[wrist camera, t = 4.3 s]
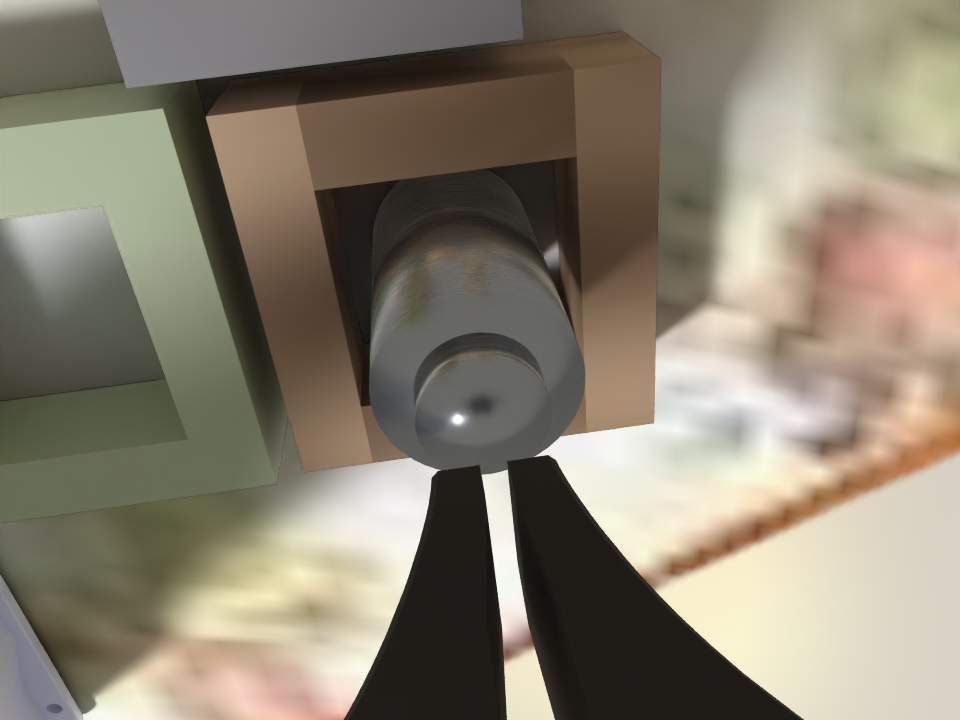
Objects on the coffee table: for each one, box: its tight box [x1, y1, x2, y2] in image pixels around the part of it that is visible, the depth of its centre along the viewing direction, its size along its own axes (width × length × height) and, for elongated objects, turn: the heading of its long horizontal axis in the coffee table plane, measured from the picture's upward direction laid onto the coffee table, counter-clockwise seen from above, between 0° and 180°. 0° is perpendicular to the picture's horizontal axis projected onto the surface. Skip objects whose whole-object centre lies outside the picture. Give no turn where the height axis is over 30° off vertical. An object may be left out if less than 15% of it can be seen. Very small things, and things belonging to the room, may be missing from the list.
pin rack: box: [0, 80, 288, 523], centre depth 19 cm, size 10×10×3 cm
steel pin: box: [369, 169, 586, 474], centre depth 18 cm, size 4×4×8 cm
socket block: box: [206, 32, 661, 472], centre depth 20 cm, size 9×9×3 cm
